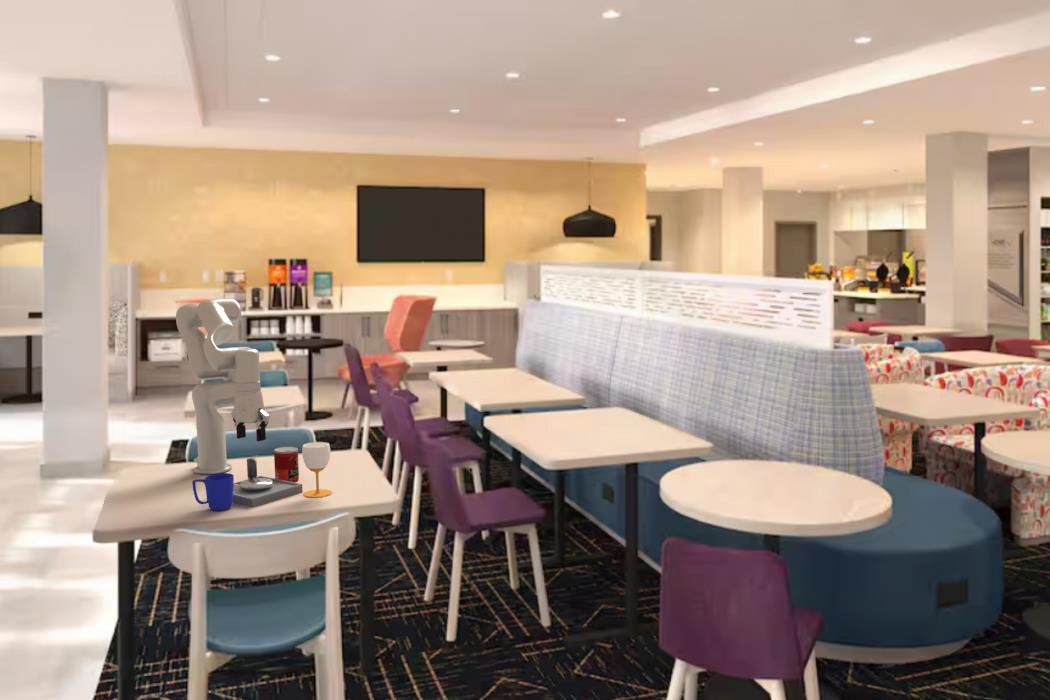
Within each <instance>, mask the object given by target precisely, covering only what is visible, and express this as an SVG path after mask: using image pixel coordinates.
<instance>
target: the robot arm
mask: <svg viewBox="0 0 1050 700" xmlns="http://www.w3.org/2000/svg"><path fill="white" fill-rule="evenodd" d="M241 316H242V309H241V305H240V304H239V302H238V301H236V300H235V299H233V298H213V299H205V300H203V301H201V302H197V303H189V304H185V305H181V306H179V308H177V310H176V313H175V320H176V321H175V322H176V326H177V329H178V332H179V335H180V337H181V338H182V340H183V343H184V345H185V348H186V353H187V358H188V362H189V366H190V370H191V371H190V372H191V375H192V376H193V379H195V380H197V381H206V380H215V379H216V380H217V379H223V380H220V381H207V382H202V383H198V384H197V385H196V386H194V388H192V391H191V399H192V404H193V408H194V412H195V413H194V414H195V422H196V423H195V424H196V426H195V427H196V440H197V441H196V443H197V457H195V458H193V462H194V463H196V464H197V466H195V467H194V468H193V471H194V473H196V474H200V475H212V474H219V473H227V472H228V471H231V469H232V464H230V463H228V462H227V461H228V460H227V459H228V458H227V444H226V443H227V441H226V440H227V439H226V438H227V437H226V422H225V418H224V417H223V416H222V414H221V413H220V412H219V411H218V409H222V408H223V409H225V408H229V407H233V410H232V411H231V412H230V414H231V416H232V420H233V422H234V426H235V428H236V429H235V430H236V439H239V440H240V439H242V438H243V439H245V438H246V437H247V432H246V431H247V430H246V424H254V425H255V426H256V427H257V429H256V430H255V434H256V441H257V442H263V441H266V439H267V438H266V434H267V433H266V428H267V426H268V424H269V419H270V415H269V414H268V413H267V412H266V411H265V404H264V397H263V393H262V388H261V386H262V385H261V370H260V368H261V367H260V354H259V350H257V349H256V348H251V347H249V346H237V347H236V346H234V347H232V346H231V347H222V348H218V346H220V345H222V344H224V343H226V342H228V341H229V340H230V339H231V338H232V337H233V335H234V334H235V326H234V324H235V323H237V322H239V320H240V319H241ZM200 328H204V329H205V331H206V333H207V334H206V333H205V332H204V331H203V330H201V329H200ZM245 423H246V424H245Z"/></svg>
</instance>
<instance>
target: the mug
mask: <svg viewBox="0 0 1050 700" xmlns="http://www.w3.org/2000/svg"><path fill="white" fill-rule="evenodd" d="M234 480H235V479H234V474H233V473H227V472H222V473H216V474H208V475H206V476H205V478H198V479H193V480H192V489H193V495H194V499H195V501H196V503H198V504H200V505H205V504H206V505H208V508H209V509H210V510H211V511H216V512H221V511H227V510H228V509H231V508H232V507H233V504H234V503H233V483H235V482H234ZM198 482H199V483H203V484H204V486H205V494H206V500H205V501H201V500H200V498H199V496H198V493H197V487H196V485H197V484H196V483H198Z"/></svg>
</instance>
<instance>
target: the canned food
mask: <svg viewBox="0 0 1050 700" xmlns="http://www.w3.org/2000/svg"><path fill="white" fill-rule="evenodd" d="M273 459H274V460H273V462H274V479H279V480H284V481H289V482H294V483H298V481H299V478H300V470H299V469H300V468H299V449H298V447H295V446H281V447H277V448H274V449H273Z"/></svg>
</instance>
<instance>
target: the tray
mask: <svg viewBox="0 0 1050 700" xmlns="http://www.w3.org/2000/svg"><path fill="white" fill-rule="evenodd" d="M257 478H267V479H271V480H273V485H272V486H271V487H269V488H266V489H260V490H244V489H241V488H240V483H241V482H242V481H245V480H248V478H247V479H244V480H240V481H236V482H233V504H238V505H241V506H245V505H246V507H250V508H251V507H252V508H254V507H258V506H261V505H265V504H268V503H271V502H274V501H277V500H280V499H283V498H287V497H290V495H291V496H294V495H297V494H301V493H303V484H302V483H299V482H289V481H284V480H279V479H275V477H274V478H272V477H268V476H265V475H257Z"/></svg>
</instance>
